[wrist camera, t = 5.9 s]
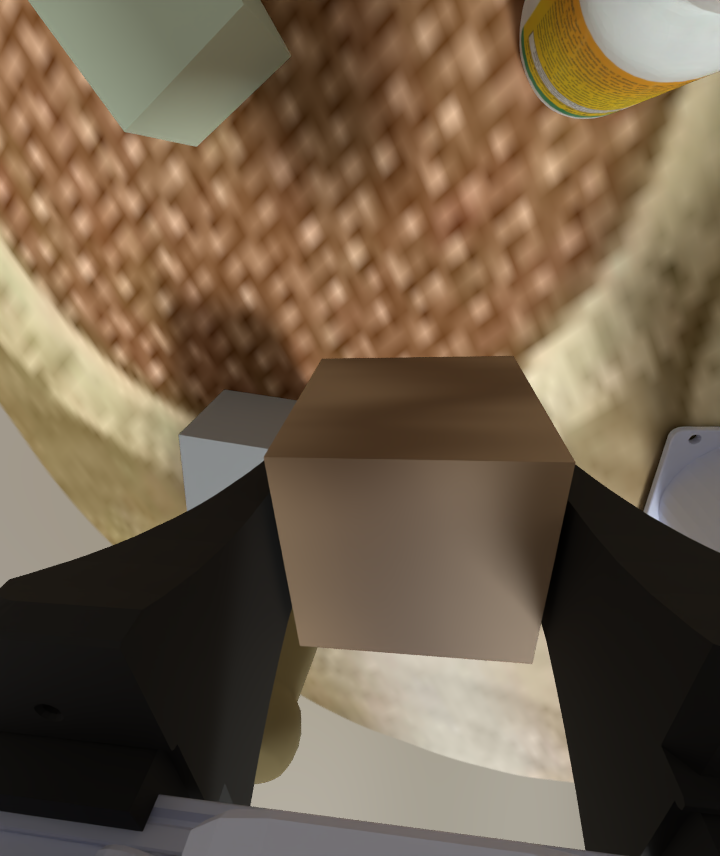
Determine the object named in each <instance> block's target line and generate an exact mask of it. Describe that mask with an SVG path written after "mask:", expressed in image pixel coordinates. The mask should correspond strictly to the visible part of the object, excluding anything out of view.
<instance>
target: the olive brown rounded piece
mask: <svg viewBox="0 0 720 856" xmlns="http://www.w3.org/2000/svg"><path fill="white" fill-rule="evenodd" d="M317 648H318V647H309V646H300V644H299V639H298V634H297V628H296V623H295V618H294V613H293V608H292V610H291V613H290V617H289V620H288V624H287V628H286V632H285V636H284V641H283V645H282V649H281V653H280V658H279V662H278V667H277V671H276V676H275V680H274V685H273V690H272V694H271V699H270V703H269V709H268V714H267V719H266V724H265V729H264V734H263V739H262V744H261V749H260V754H259V759H258V765H257V771H256V776H255V782H254V784H259V783H265V782H268V781H271V780H273V779H275V778H277V777H279V776H280V775H281V774H282V773H283V772H284V771H285V770H286V768H287V767H288V766H289V764H290V763H291V761H292V760H293V757H294V755H295V753H296V750H297V748H298V746H299V741H300V736H301V711H300V708H299V706H298V703H297V701H298V698H299V696H300V693H301V690H302V688H303V685H304V682H305V680H306V677H307V674H308V672H309V669H310V666H311V664H312V661H313V658H314V656H315V653H316V650H317Z"/></svg>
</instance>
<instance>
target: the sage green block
mask: <svg viewBox="0 0 720 856" xmlns="http://www.w3.org/2000/svg"><path fill="white" fill-rule="evenodd" d="M28 1H29V2H30V4H31V5H32V6H33V8H34V9H35V10H36V12H37V13H38V15H39V16H40V17H41V19H42V20H43V21H44V23H45V24H46V25H47V27H48V28H49V30H50V31H51V32H52V34H53V35H54V36H55V38H56V39H57V40H58V42H59V43H60V45H61V46H62V47H63V49H64V50H65V51H66V53H67V54H68V55H69V57H70V58H71V60H72V61H73V62H74V64H75V65H76V66H77V68H78V69H79V70H80V72H81V73H82V75H83V76H84V77H85V79H86V80H87V81H88V83H89V84H90V85H91V87H92V88H93V90H94V91H95V92H96V94H97V95H98V96H99V98H100V99H101V100H102V102H103V103H104V105H105V106H106V107H107V109H108V110H109V111H110V113H111V114H112V115H113V117H114V118H115V120H116V121H117V122H118V124H119V125H120V126H121V128H122V129H123V130H124V132H128V133H133V134H138V135H143V136H147V137H152V138H157V139H162V140H167V141H172V142H176V143H181V144H186V145H191V146H196V147H197V146H198V145H199V144H200V143H201V142H202V141H203V140H204V139H205V138H206V137H207V136H208V135H209V134H210V133H211V132H213V131H214V130H215V129H216V128H217V127H218V126H219V125H220V124H221V123H222V122H223V121H224V120H225V119H226V118H227V117H228V116H229V115H230V114H231V113H232V112H233V111H235V110H236V109H237V108H238V107H239V106H240V105H241V104H242V103H243V102H244V101H245V100H246V99H247V98H248V97H249V96H250V95H251V94H252V93H253V92H254V91H255V90H256V89H258V88H259V87H260V86H261V85H262V84H263V83H264V82H265V81H266V80H267V79H268V78H269V77H270V76H271V75H272V74H273V73H274V72H275V71H276V70H277V69H278V68H279V67H281V66H282V65H283V64H284V63H285V62H286V61H287V60H288V59H289V58H290V57H291V56H292V55H291V54H290V52H289V50H288V48H287V47H286V45H285V43H284V41H283V40H282V38H281V36H280V34H279V32H278V31H277V29H276V27H275V25H274V24H273V22H272V20H271V18H270V16H269V15H268V13H267V11H266V9H265V8H264V6H263V4H262V2H261V1H260V0H28Z"/></svg>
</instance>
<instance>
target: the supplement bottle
mask: <svg viewBox="0 0 720 856" xmlns="http://www.w3.org/2000/svg"><path fill="white" fill-rule="evenodd" d="M519 45H520V56H521V61H522V65H523V68H524V71H525V74H526V77H527V79H528V81H529V83H530V85H531V87H532V89H533V91H534V92H535V94H536V95H537V96H538V98H539V99H540V100H541V101H542V102H543V103H544V104H545V105H546V106H547V107H549V108H550V109H551V110H553V111H555V112H557V113H559V114H561V115H564V116H567V117H571V118H579V119H590V118H597V117H602V116H606V115H609V114H611V113H614V112H617V111H620V110H622V109H625V108H628V107H631V106H633V105H636V104H638V103H641V102H643V101H645V100H648V99H650V98H653V97H656V96H658V95H660V94H663V93H665V92H668V91H670V90H673V89H675V88H678V87H680V86H683V85H685V84H688V83H690V82H693V81H695V80H698V79H700V78H703V77H706V76H708V75H711V74H713V73H716V72H718V71H720V0H525V2H524V6H523V10H522V16H521V23H520V43H519Z"/></svg>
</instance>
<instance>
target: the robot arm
mask: <svg viewBox="0 0 720 856" xmlns="http://www.w3.org/2000/svg"><path fill="white" fill-rule="evenodd" d="M693 435H696V437H695V438H694V439H692V440H689V438H690V437H691V436H693ZM291 610H292V602H291V597H290V592H289V587H288V582H287V576H286V571H285V566H284V561H283V556H282V550H281V545H280V540H279V535H278V530H277V524H276V519H275V514H274V509H273V504H272V498H271V493H270V488H269V483H268V478H267V472H266V467H265V462H264V461H263V462H261V463H260V464H259V465H257V466H256V467H255V468H254V469H252V470H251V471H250V472H248V473H247V474H245V475H244V476H242V477H241V478H240V479H238V480H237V481H235V482H234V483H232V484H231V485H229V486H228V487H226V488H225V489H223V490H222V491H220V492H219V493H217V494H216V495H214V496H213V497H211V498H209V499H208V500H206V501H204V502H203V503H201V504H199V505H197V506H196V507H194V508H192V509H190V510H188V511H187V512H185V513H183V514H181V515H179V516H177V517H175V518H173V519H171V520H169V521H167V522H165V523H163V524H161V525H158V526H156V527H154V528H152V529H150V530H148V531H146V532H144V533H141V534H139V535H137V536H135V537H132V538H130V539H128V540H125V541H123V542H120V543H118V544H115V545H113V546H110V547H108V548H105V549H102V550H100V551H97V552H94V553H91V554H89V555H86V556H83V557H80V558H77V559H74V560H72V561H69V562H65V563H62V564H59V565H56V566H52V567H49V568H46V569H43V570H39V571H36V572H33V573H30V574H26V575H23V576H20V577H16V578H13V579H10V580H8V581H7V582H6V583H5V584H4V585H3V586H2V587H1V588H0V856H720V427H677V428H675V429H673V430H672V431H671V432H670V433H669V435H668V437H667V440H666V444H665V447H664V450H663V453H662V456H661V459H660V462H659V465H658V468H657V471H656V474H655V477H654V480H653V484H652V487H651V490H650V493H649V496H648V499H647V502H646V505H645V508H644V511H641V510H640V509H638V508H637V507H635V506H634V505H632V504H630V503H629V502H627V501H626V500H624V499H623V498H621V497H620V496H618V495H617V494H615V493H614V492H612V491H611V490H609V489H608V488H607V487H605V486H604V485H602V484H601V483H600V482H598V481H597V480H595V479H594V478H593V477H591V476H590V475H589V474H587V473H586V472H585V471H583V470H582V469H581V468H579V467H578V466H577V465H575V467H574V472H573V476H572V481H571V486H570V490H569V495H568V500H567V504H566V509H565V514H564V518H563V523H562V528H561V532H560V537H559V542H558V546H557V551H556V556H555V560H554V565H553V570H552V574H551V579H550V584H549V588H548V593H547V598H546V602H545V607H544V612H543V616H542V621H541V623H542V627H543V630H544V634H545V638H546V641H547V646H548V651H549V655H550V660H551V664H552V669H553V674H554V678H555V683H556V688H557V693H558V698H559V703H560V708H561V713H562V718H563V723H564V728H565V733H566V739H567V744H568V750H569V756H570V761H571V767H572V772H573V778H574V783H575V789H576V794H577V800H578V806H579V813H580V819H581V825H582V831H583V838H584V844H585V850H586V851H585V850H577V849H570V848H562V847H555V846H547V845H540V844H532V843H526V842H519V841H511V840H503V839H496V838H488V837H481V836H472V835H465V834H457V833H450V832H443V831H435V830H426V829H420V828H412V827H404V826H397V825H389V824H382V823H374V822H367V821H359V820H351V819H344V818H336V817H329V816H321V815H313V814H306V813H298V812H291V811H283V810H275V809H266V808H258V807H251V806H250V803H251V798H252V793H253V787H254V782H255V776H256V771H257V765H258V759H259V754H260V749H261V744H262V739H263V734H264V729H265V724H266V719H267V714H268V709H269V703H270V699H271V694H272V690H273V685H274V680H275V676H276V671H277V667H278V662H279V658H280V653H281V649H282V645H283V641H284V636H285V632H286V628H287V624H288V620H289V617H290V613H291Z"/></svg>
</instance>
